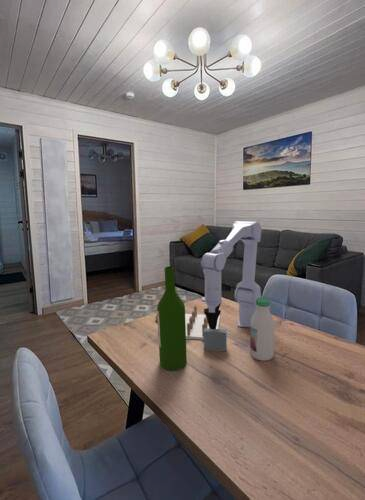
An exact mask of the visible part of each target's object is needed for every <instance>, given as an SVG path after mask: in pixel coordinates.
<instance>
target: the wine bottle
mask: <svg viewBox="0 0 365 500" xmlns="http://www.w3.org/2000/svg"><path fill="white" fill-rule="evenodd" d="M164 289H165V290H164V293H163V295H162V296H161V298H160V300H159V302H158V303H157V308H156V315H157V319H158V322H157V332H158V350H159V351H158V352H159V354H158V355H159V365H160V367H161V368H162V369H163V370H165V371H169V372H170V371H171V372H175V371H180V370H182V369H183V368H184V367H186V366H187V363H188V359H187V357H188V356H187V339H186V324H185V314H186V306H185V303H184V301H183V300H182V298H181V297H180V296H179V294H178V293H177V291H176V278H175V267H174V266H165V267H164Z"/></svg>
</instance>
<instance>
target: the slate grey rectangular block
mask: <svg viewBox="0 0 365 500" xmlns="http://www.w3.org/2000/svg"><path fill="white" fill-rule="evenodd" d="M227 331H228V330H227V329H224V328H223V329H220V328H218V329H208V328H204V340H203V350H207V351H208V350H209V351H219V352H220V351H221V352H227V349H228V344H227V343H228V342H227V340H228V339H227V337H228V336H227V335H228V334H227Z"/></svg>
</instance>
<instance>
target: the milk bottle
mask: <svg viewBox="0 0 365 500" xmlns="http://www.w3.org/2000/svg"><path fill="white" fill-rule="evenodd" d="M270 308H271V300H270V299H269V298H267V297H261V298H257V299H256V311H255V313H254V315H253V317H252V320H251V327H250V334H249V335H250V337H249V339H250V340H249V341H250V342H249V343H250V344H249V347H250V348H249V350H250V351H249V353H250V356H251V357H252V358H254V359H255V360H257V361H264V362H266V361H271V360H272V359H273V358H274V354H275V321H274V318H273V316H272V313H271V311H270Z"/></svg>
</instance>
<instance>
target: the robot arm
mask: <svg viewBox="0 0 365 500" xmlns="http://www.w3.org/2000/svg"><path fill="white" fill-rule="evenodd" d="M261 238H262V225H261V224H260V222H259V221H257V220H256V221H245V220H244V221H240V220H236V221H234V223H233V224H232V228H231V231H230V233H229V234H228V236H227V237H226V238H225V239H220V240H219V241H218V243H217V244H216V245H215V246H214V247H213V248H212V249H211V250H210V251H209V252H206V253H204V254H203V255H202V257H201V261H200V266H201V268H202V272H203V275H204V297H202V298H201V302H204V303H205V304H206V306H207V307H209V309H207V308H204V309H203V313H204V314H203V315H206V317H207V320H208V324H209V328H210V329H216V326H217V320H218V317H219V315H220V316H221V312H222V310H221V309H220V308H221V307H220V306H221V304H222V303H223V299H222V270H223V269H224V267H225V265H226V262H227V259H228V257H229V256H230V255H231V254H232V252H233V251H234V245H235V244H236V243H238V242H239V241H242V243H243V244H244V247H243V248H244V249H243V250H244V251H243V261H242V262H243V263H242V264H243V265H242V275H241V276H242V279H241V281H240V282H238V283H237V284H236V286H235V287H236V288H235V290H234V299H235V301H236V302H237V304H238V318H237V326H238V328H239V327H240V328H251V320H252V317H253V315H254V313H255V311H256V299H257V298H262V291H261V286H260V285H259V284H258V283H256V281H255V279H256V277H255V276H256V266H257V251H258V243H260V242H261Z"/></svg>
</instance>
